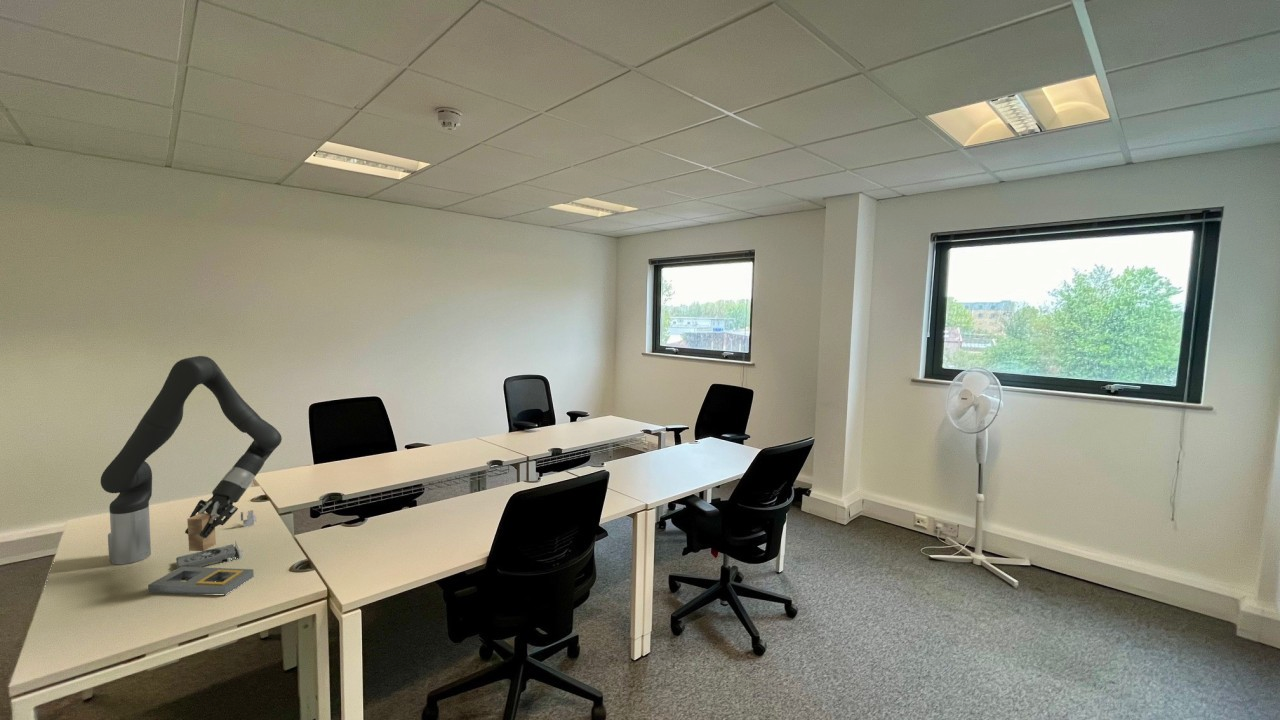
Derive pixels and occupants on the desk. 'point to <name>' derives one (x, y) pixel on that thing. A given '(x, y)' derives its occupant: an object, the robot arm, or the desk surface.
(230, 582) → the square hole plate
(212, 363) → the robot arm
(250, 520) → the small white bracket
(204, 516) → the peg
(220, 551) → the graphics card
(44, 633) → the desk surface
